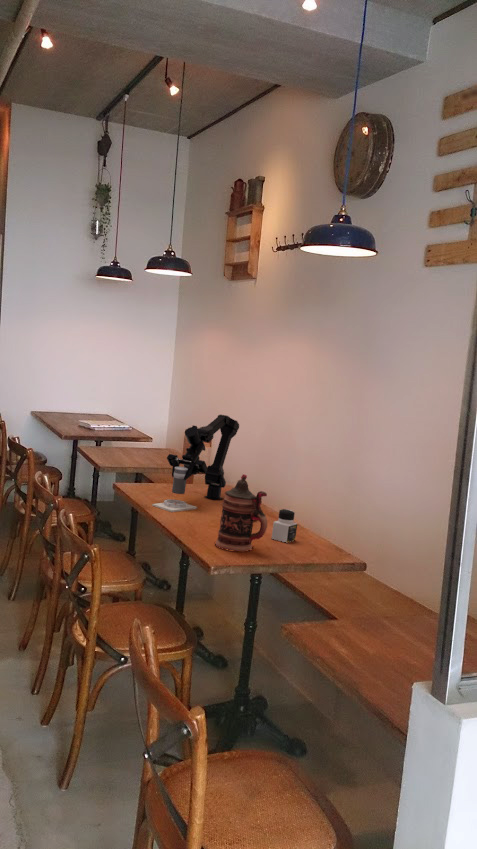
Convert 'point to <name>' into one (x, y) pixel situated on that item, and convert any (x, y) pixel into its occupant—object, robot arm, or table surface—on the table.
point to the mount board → (160, 505)
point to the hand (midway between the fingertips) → (178, 478)
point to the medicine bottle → (284, 526)
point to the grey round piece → (179, 480)
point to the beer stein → (240, 518)
